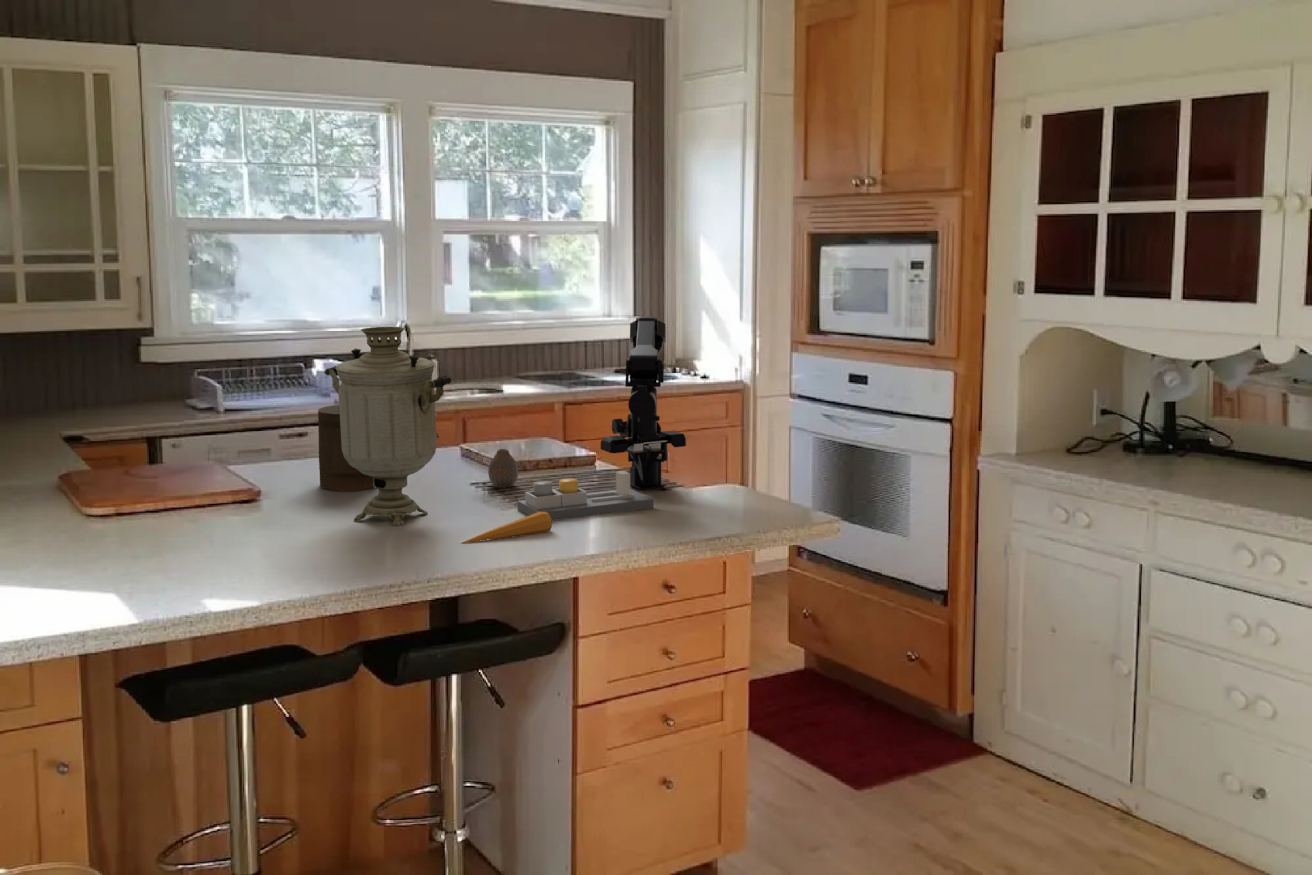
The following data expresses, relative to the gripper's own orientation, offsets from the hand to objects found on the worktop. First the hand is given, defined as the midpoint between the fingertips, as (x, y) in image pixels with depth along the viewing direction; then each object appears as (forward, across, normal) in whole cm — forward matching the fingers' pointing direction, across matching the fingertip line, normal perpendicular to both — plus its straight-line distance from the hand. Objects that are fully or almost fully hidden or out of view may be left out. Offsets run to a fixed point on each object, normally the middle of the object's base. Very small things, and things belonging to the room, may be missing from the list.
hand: (643, 479), depth 278 cm
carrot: (+6, +38, +13) cm, 41 cm away
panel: (+5, +14, 0) cm, 15 cm away
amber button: (+1, +18, 0) cm, 18 cm away
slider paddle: (+3, +5, 0) cm, 6 cm away
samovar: (+5, +51, -12) cm, 53 cm away
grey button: (+1, +24, 0) cm, 24 cm away
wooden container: (+5, +53, -47) cm, 71 cm away
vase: (+5, +22, -29) cm, 37 cm away
